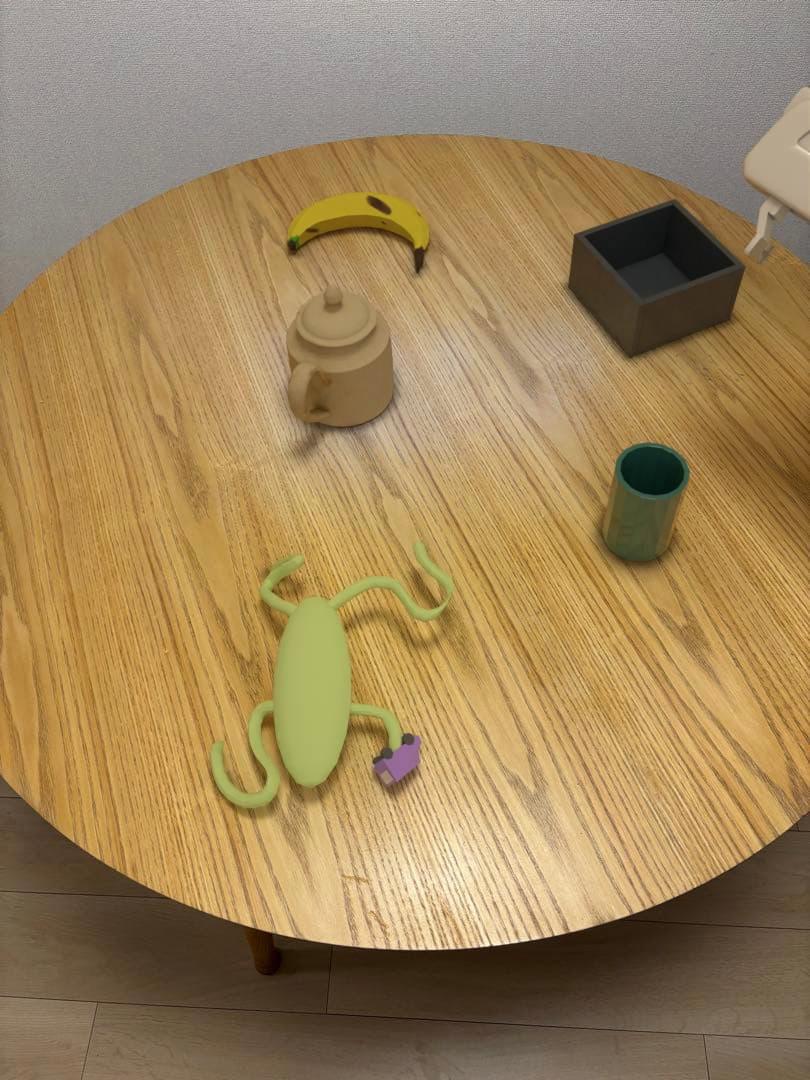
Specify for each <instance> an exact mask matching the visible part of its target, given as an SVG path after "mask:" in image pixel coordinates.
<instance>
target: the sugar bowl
mask: <svg viewBox="0 0 810 1080" xmlns="http://www.w3.org/2000/svg"><path fill="white" fill-rule="evenodd" d="M285 341H286V342H285V343H286V344H285V345H286V351H287V356H288V357H287V358H288V362H289V368H290V373H291V376H290V378H289V382H288V388H287V399H288V404H289V408H290V411H291V412H292V414H293V415H294V416H295V418H297V419H299V420H300V421H302V422H305V423H320V424H323V425H326V426H330V427H339V428H343V427H353V426H359V425H361V424H364V423H367V422H369V421H372V420H373V419H375V418H377V417H378V416H379V415H381V414H382V413H383V412H384V411H386V408H387V407H389V405H390V403H391V401H392V398H393V396H394V392H395V391H394V389H395V381H394V357H393V348H392V338H391V330H390V326H389V323H388V321H387V319H386V318H385V317H384V315H383V314H382V313H381V312H380V311H378V309H376V308H375V307H374V305H373V304H372V302H371V301H370V300H368V298H366V297H365V296H364V295H362V294H358V293H355V292H352V291H346V290H341V288H339V286H337V285H336V284H333V283H332V284H329V285H327V287H326V288H325V290H324V291H323V292H322V293H320V294H317V295H314V296H313V297H311V298H309V299H308V300H307V301H305V302H304V303H303V304H302V305H301V307H300V308H299V309H298V311H297V313H296V317H295V318H294V319H293V321H292V322H291V323H290V325H289V326H288V328H287V332H286V336H285Z"/></svg>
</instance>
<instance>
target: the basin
mask: <svg viewBox="0 0 810 1080" xmlns="http://www.w3.org/2000/svg"><path fill="white" fill-rule="evenodd" d="M746 268H747V267H746V265H745V264H744V263H743V262H742V261H741V260H740V259H738V257H737V256H736V255H735V254H734V253H733V252H731V250H729V249H728V248H727V247H726V246H725V245H724V244H723V243H722V242H721V241H720V240H719V239H718V238H717V237H716V236H715V235H714V234H713V233H712V232H710V230H708V228H706V226H705V225H703V224H702V223H701V222H700V221H699V220H698V219H697V217H695V216H694V215H693V214H692V213H691V212H690V211H688V209H687V208H686V207H684V205H683V204H681V202H680V201H678V199H676V198H673V199H670V200H668V201H665V202H662V203H661V202H660V203H659V204H656V205H653V206H650V207H647V208H644V209H641V210H639V211H636V212H633V213H631V214H630V213H629V214H627V215H625V216H622V217H619V218H616V219H613V220H611V221H608V222H605V223H602V224H598V225H597V226H593V227H590V228H586V229H585V230H582V231H578V232H575V233H574V234H573V241H572V250H571V259H570V266H569V276H568V283H567V284H568V285H567V286H568V288H569V289H570V290H571V291H572V292H573V293H574V295H575V296H576V297H577V298H578V300H580V302H581V303H582V304H583V305H584V306H585V307H586V309H587V310H588V311H589V312H590V313H591V315H592V316H593V317H594V318H595V319H596V320H597V322H599V324H600V325H601V326H602V327H603V329H604V330H606V332H607V333H608V334H609V335H610V337H611V338H612V339H613V340H614V341H615V342H616V344H617V345H618V346H619V347H620V348H621V350H623V351H624V353H625V354H626V355H627V356H628V357H629V358H632V357H635V356H637V355H640V354H643V353H645V352H647V351H650V350H654V349H655V348H658V347H661V346H664V345H666V344H669V343H671V342H674V341H676V340H679V339H681V338H684V337H687V336H690V335H692V334H695V333H697V332H699V331H702V330H705V329H707V328H710V327H712V326H715V325H718V324H720V323H723V322H726V321H728V320H731V318H732V314H733V311H734V308H735V304H736V300H737V298H738V295H739V294H738V293H739V291H740V287H741V284H742V280H743V277H744V274H745V271H746Z"/></svg>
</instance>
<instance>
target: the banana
mask: <svg viewBox="0 0 810 1080" xmlns="http://www.w3.org/2000/svg"><path fill="white" fill-rule="evenodd" d="M362 227H369V228H375V229H381V230H386V231H389V232H392V233H393V234H396V235H399V236H400V237H403V238H405V239H406V240H408V241H409V242H411V244H412V245H413V251H414V253H413V254H414V255H413V256H414V262H415V269H416V272H417V273H419V272H420V269H421V268H422V267H423V264H424V259H425V250H426V249H427V248H428V245H429V243H430V228H429V225H428V222H427V219H426V218H425V215H424V214H423V213H422V212H421V210H419V209H418V207H417V206H416V205H415V204H413V203H411V202H409V201H407V200H405V199H403V198H401V197H399V196H398V195H391V194H386V193H381V192H375V191H359V192H346V193H339V194H335V195H333V196H329V197H327V198H323V199H321V200H318V201H316V202H314V203H312V204H310V205H309V206H307V207H304V208H303V209H302V210H301V211H300V212H298V214H297V215H296V216H295V217H294V218H293V219H292V221H291V223H290V225H289V227H288V229H287V231H286V245H287V247H288V248H289V250H291V251H293V252H294V251H297V250H298V248H300V247H301V246H302V245H304V244H305V243H306V242H308V241H309V240H311V239H313V238H315V237H317V236H318V235H322V234H325V233H328V232H331V231H337V230H342V229H348V228H362Z"/></svg>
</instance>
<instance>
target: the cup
mask: <svg viewBox="0 0 810 1080" xmlns="http://www.w3.org/2000/svg"><path fill="white" fill-rule="evenodd" d="M690 474H691V470H690V467H689V465H688V463H687V460H686V459H685V458H684V457H683V456H682V455H681V454H680V453H679V452H678V451H677V450H676V449H674V448H672V447H669V446H667V445H665V444H662V443H658V442H657V443H656V442H640V443H635V444H633V445H630V446H629V447H627V448H625V449H623V450H622V452H620V454H619V456H618V457H617V458H616V459H615V464H614V469H613V474H612V480H611V484H610V488H609V493H608V497H607V503H606V508H605V513H604V518H603V525H602V528H601V529H602V530H601V531H602V538H603V541H604V543H605V545H606V547H607V548H608V549H609V550H610V551H611V552H612V553H613V554H614V555H616V556H617V557H619V558H622V559H623V560H626V561H629V562H630V561H631V562H639V563H640V562H641V563H643V562H648V561H652V560H655V559H657V558H659V557H660V556H662V555H663V554H664V553H665V552H666V551H667V550H668V548H669V545H670V542H671V541H672V538H673V535H674V531H675V528H676V525H677V522H678V518H679V515H680V512H681V509H682V505H683V503H684V499H685V496H686V492H687V489H688V486H689V482H690V476H691V475H690Z"/></svg>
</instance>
